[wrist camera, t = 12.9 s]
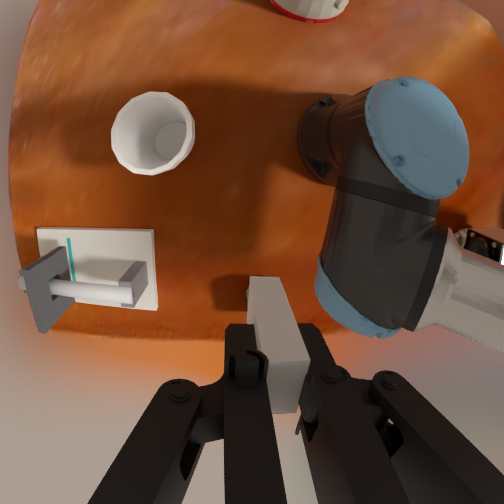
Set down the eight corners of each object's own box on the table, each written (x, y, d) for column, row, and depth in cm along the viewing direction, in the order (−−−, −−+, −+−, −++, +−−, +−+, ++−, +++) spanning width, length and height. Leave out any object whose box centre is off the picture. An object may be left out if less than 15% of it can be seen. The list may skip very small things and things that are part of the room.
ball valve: (434, 261, 48) (491, 298, 31) (439, 220, 45) (503, 248, 28) (482, 254, 49) (533, 282, 32) (487, 220, 46) (542, 242, 29)
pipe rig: (40, 227, 40) (5, 244, 30) (153, 229, 42) (131, 250, 32) (52, 294, 45) (24, 320, 34) (158, 306, 47) (142, 342, 36)
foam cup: (178, 99, 36) (156, 75, 24) (217, 141, 39) (210, 131, 27) (133, 141, 38) (96, 136, 25) (171, 183, 40) (145, 192, 28)
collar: (59, 246, 37) (21, 269, 27) (65, 246, 37) (28, 270, 27) (68, 300, 40) (38, 332, 30) (75, 301, 41) (45, 333, 30)
